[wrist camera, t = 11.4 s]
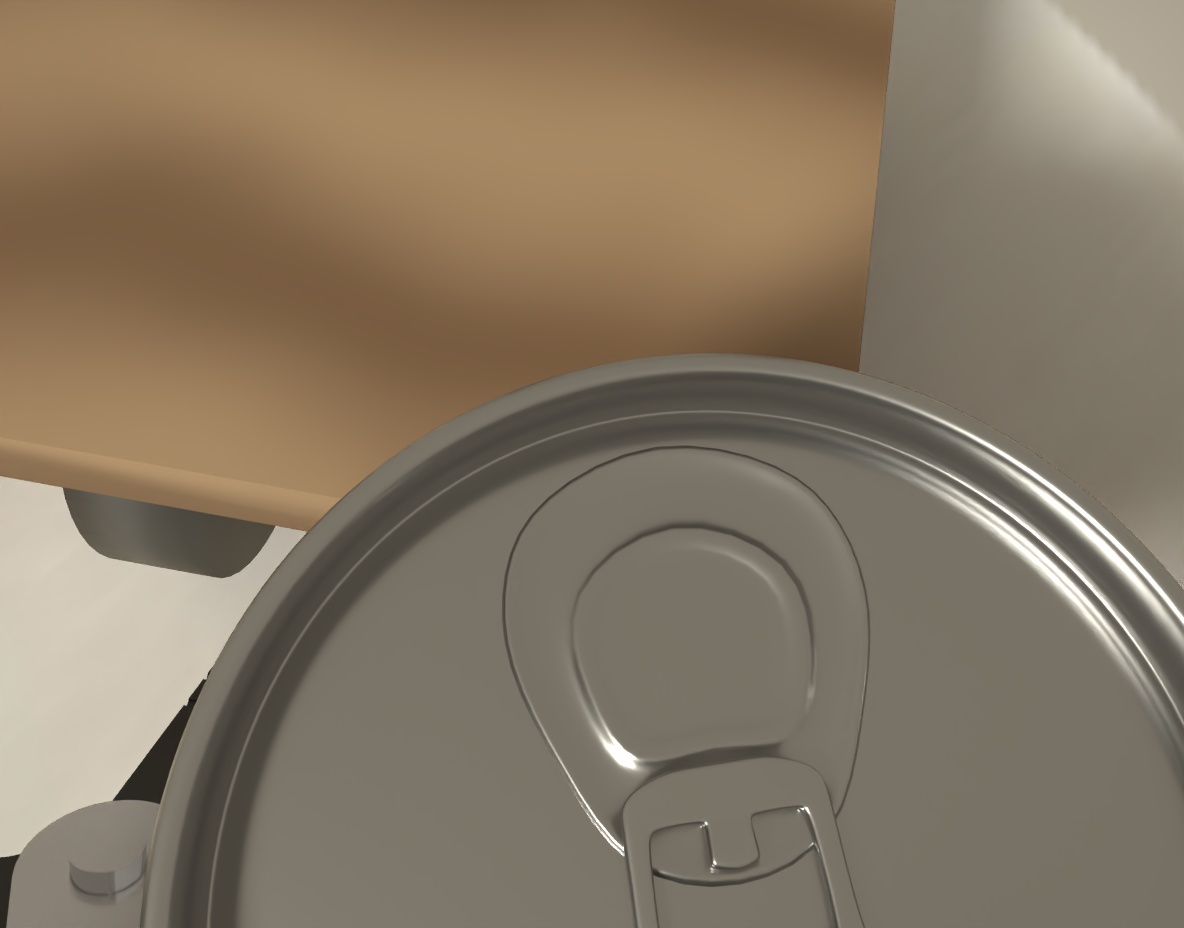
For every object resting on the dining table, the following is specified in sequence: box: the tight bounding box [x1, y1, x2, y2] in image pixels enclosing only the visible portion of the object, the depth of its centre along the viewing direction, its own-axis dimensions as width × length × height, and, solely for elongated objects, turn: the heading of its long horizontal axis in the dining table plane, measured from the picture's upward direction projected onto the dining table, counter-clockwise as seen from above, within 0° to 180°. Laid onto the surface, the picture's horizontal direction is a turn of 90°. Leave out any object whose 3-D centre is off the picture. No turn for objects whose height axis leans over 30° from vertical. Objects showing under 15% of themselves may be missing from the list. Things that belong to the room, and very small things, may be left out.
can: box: [139, 353, 1184, 928], centre depth 11 cm, size 6×6×12 cm
